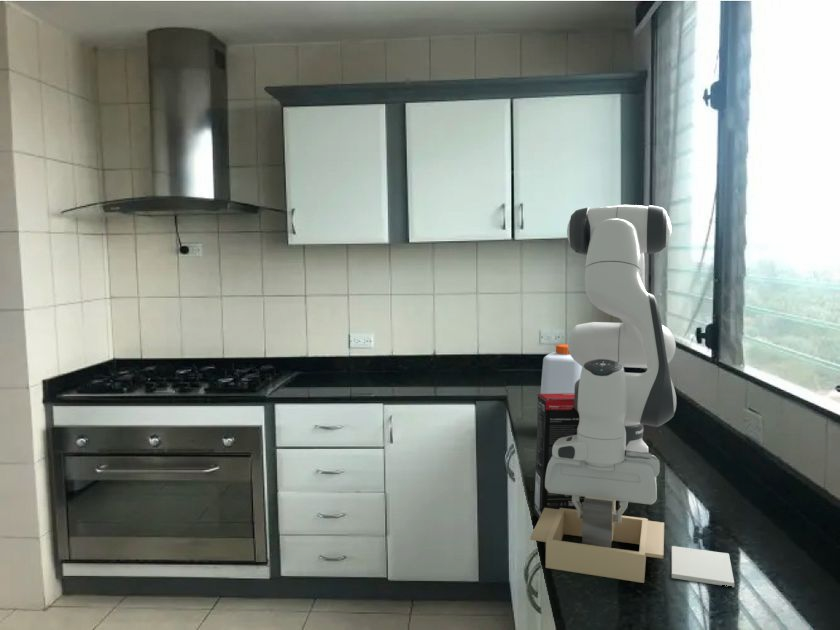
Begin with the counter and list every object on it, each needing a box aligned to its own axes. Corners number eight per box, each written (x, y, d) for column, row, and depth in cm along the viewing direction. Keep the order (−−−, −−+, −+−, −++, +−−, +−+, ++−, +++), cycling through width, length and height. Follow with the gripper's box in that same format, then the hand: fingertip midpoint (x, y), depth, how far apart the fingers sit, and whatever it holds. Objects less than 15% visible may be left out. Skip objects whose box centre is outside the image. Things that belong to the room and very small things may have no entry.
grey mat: (671, 549, 132) (671, 545, 132) (728, 557, 129) (728, 553, 129) (671, 578, 121) (671, 573, 121) (734, 587, 118) (734, 582, 118)
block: (588, 522, 136) (589, 483, 135) (614, 526, 134) (615, 486, 134) (581, 546, 126) (582, 503, 125) (610, 549, 124) (611, 507, 123)
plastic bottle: (593, 432, 217) (595, 343, 214) (584, 444, 203) (586, 350, 200) (546, 426, 223) (547, 340, 220) (533, 438, 209) (535, 347, 207)
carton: (544, 529, 142) (545, 505, 142) (663, 545, 134) (664, 520, 134) (529, 565, 126) (529, 538, 126) (662, 585, 118) (663, 557, 118)
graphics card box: (609, 511, 152) (612, 389, 149) (621, 524, 145) (625, 396, 142) (533, 515, 150) (534, 391, 147) (542, 528, 143) (544, 398, 140)
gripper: (660, 448, 128) (658, 520, 129) (549, 438, 135) (548, 506, 136) (659, 458, 122) (657, 534, 123) (543, 447, 129) (542, 519, 130)
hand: (599, 519), depth 130 cm, fingers closed on block, 5 cm apart
